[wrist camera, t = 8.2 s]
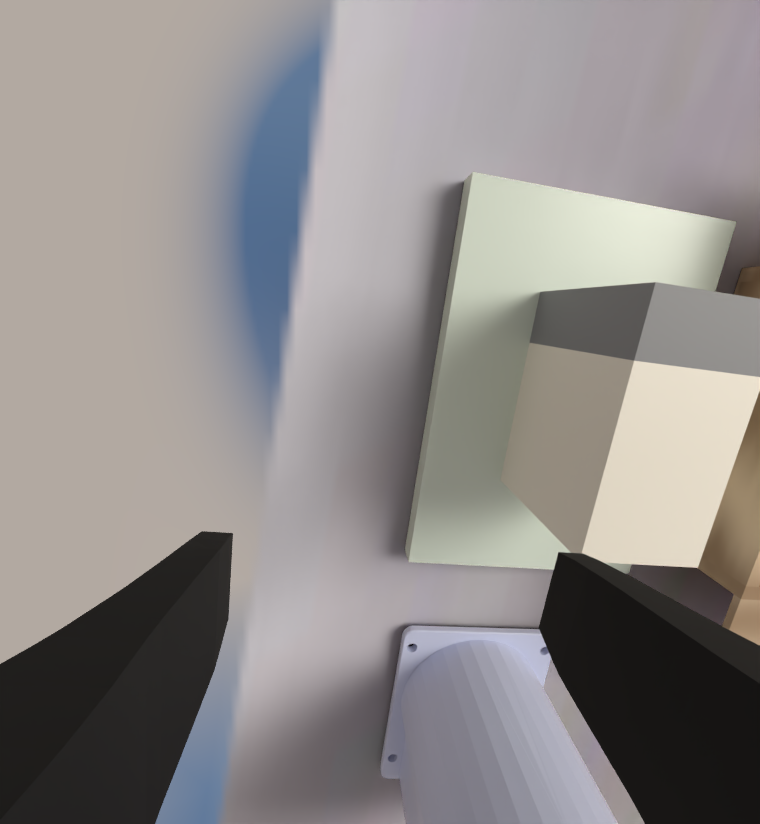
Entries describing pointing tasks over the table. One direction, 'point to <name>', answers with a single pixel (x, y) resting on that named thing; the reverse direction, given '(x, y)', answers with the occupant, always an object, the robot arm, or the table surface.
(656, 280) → the board
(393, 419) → the table surface
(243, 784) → the table surface
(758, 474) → the light wood shallow tray
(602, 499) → the block
